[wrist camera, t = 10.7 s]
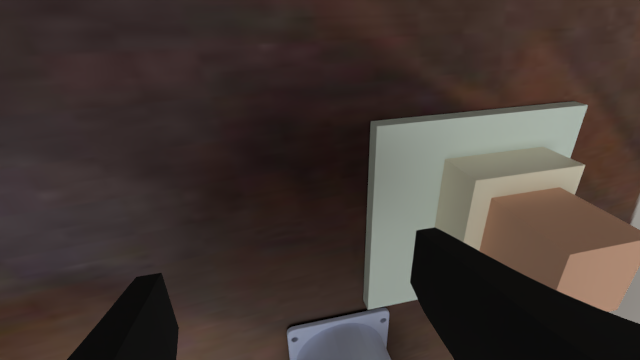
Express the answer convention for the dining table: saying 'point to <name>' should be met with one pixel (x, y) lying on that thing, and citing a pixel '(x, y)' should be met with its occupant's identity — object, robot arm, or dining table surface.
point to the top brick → (564, 244)
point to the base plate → (421, 173)
